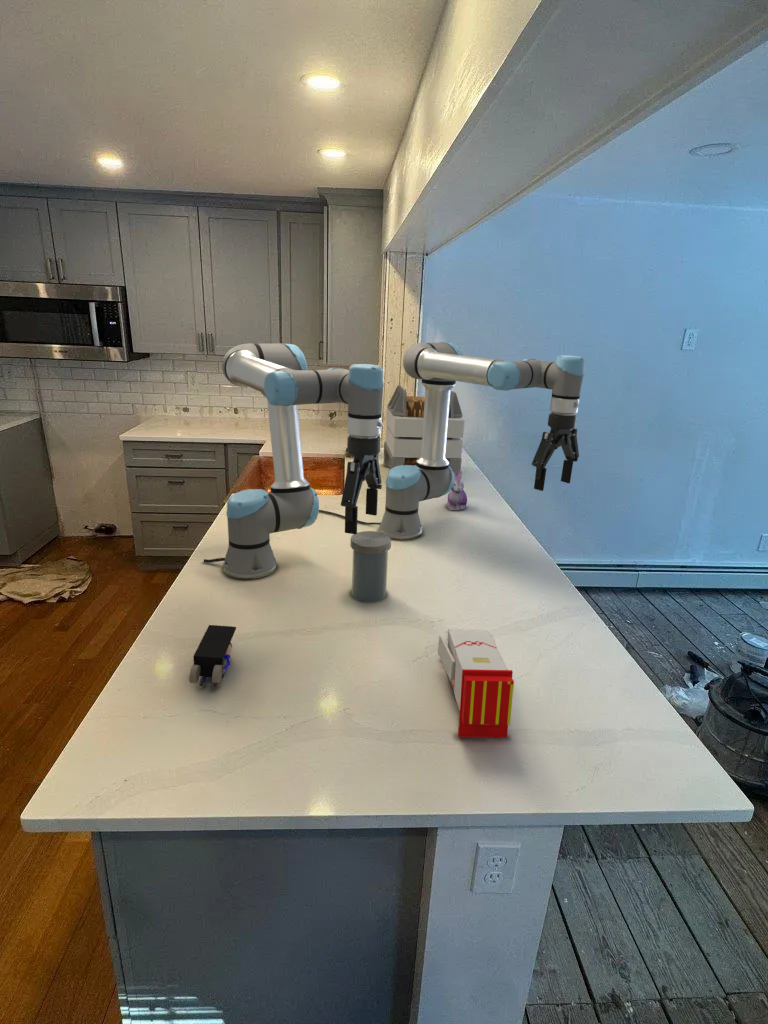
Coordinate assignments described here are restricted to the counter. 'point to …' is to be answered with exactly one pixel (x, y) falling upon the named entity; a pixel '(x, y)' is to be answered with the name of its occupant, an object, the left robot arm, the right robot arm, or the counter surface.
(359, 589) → the jar
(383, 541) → the lid
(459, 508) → the figurine
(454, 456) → the white slatted box
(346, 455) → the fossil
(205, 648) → the black wheeled vehicle
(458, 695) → the toy
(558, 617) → the counter surface
